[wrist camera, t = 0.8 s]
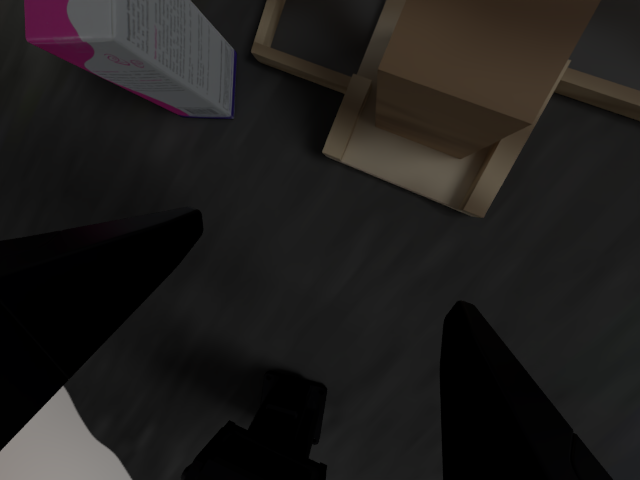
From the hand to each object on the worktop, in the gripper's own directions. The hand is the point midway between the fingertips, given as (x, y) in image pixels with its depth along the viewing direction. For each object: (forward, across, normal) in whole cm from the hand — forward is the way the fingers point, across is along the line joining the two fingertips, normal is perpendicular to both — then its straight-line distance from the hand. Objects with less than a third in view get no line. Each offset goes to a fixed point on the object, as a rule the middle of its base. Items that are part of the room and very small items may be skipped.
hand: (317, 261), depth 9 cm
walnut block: (+17, -3, -4) cm, 18 cm away
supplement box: (+17, +17, -1) cm, 24 cm away
